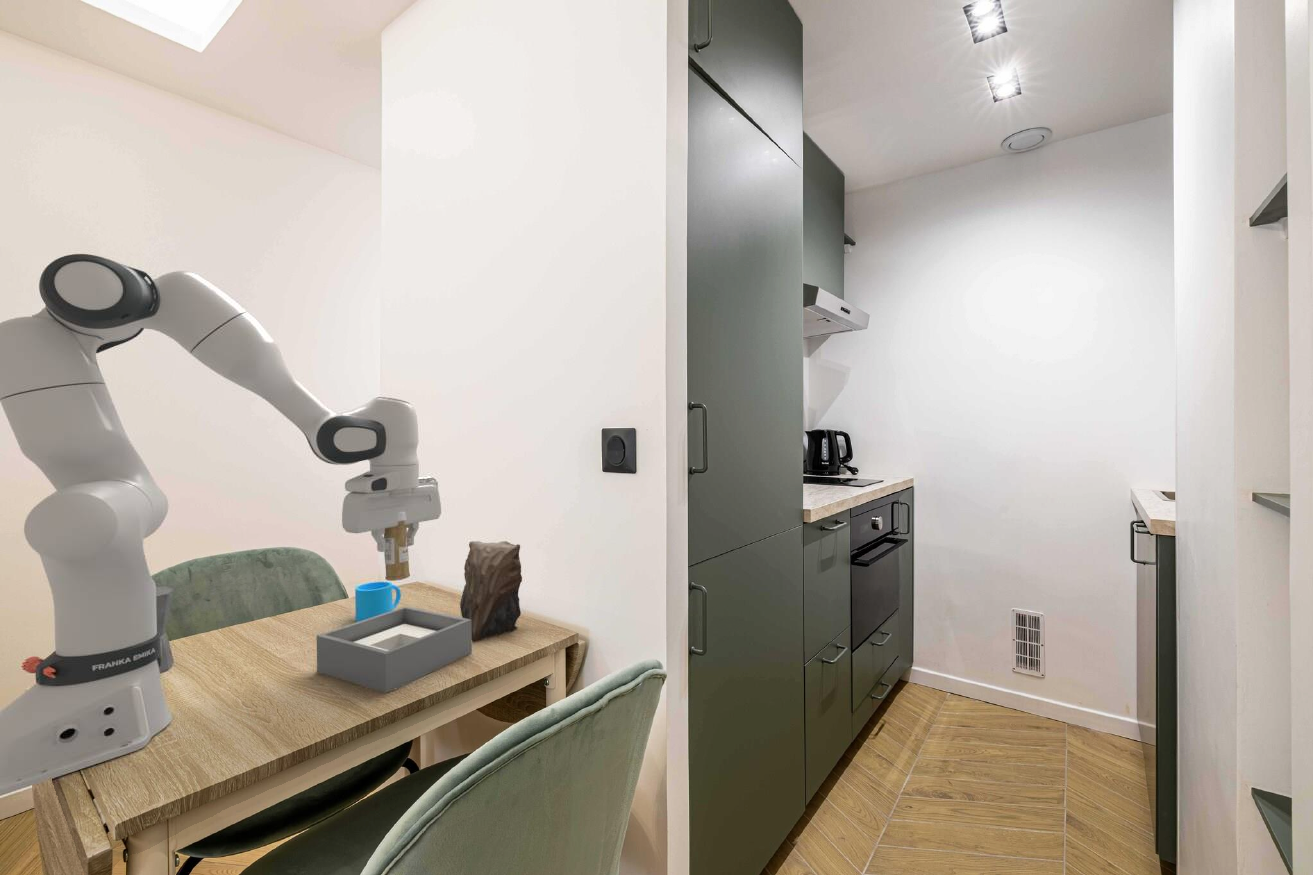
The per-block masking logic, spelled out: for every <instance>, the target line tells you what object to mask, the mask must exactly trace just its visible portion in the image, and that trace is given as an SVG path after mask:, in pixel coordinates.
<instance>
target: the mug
mask: <svg viewBox="0 0 1313 875" xmlns="http://www.w3.org/2000/svg"><path fill="white" fill-rule="evenodd" d="M354 589H355V590H354V591H355V595H354V597H355V602H354V603H355V604H354V605H355V623H356V622H359V621H362V620H366V619H369V618H372V617H375V616H378V615H381V614H384V613H387V612H390V611H393V610H395V608H397V607H398V605H399V604H400V601H401V599H402V594H401V590H400V588H399V587H398V586H397V585H396V584H393V583H392V582H391V581H390V582H389V581H374V582H373V581H372V582H367V583H362V584H359V585H358V586H356V587H355V588H354ZM393 590H394V591H395V594H396V596H395V600H394V602H393Z"/></svg>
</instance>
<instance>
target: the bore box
mask: <svg viewBox="0 0 1313 875" xmlns="http://www.w3.org/2000/svg"><path fill="white" fill-rule="evenodd" d="M472 642H473V641H472V623H471V619H466V618H462V616H461V617H460V616H455V615H450V614H445V613H441V612H435V611H431V610H426V609H421V608H416V607H411V606H407V605H406V606H403V607H399V608H397V609H393V611H390V612H387V613H384V614H381V615H378V616H375V617H372V618H369V619H366V620H362V621H359V622H356V621H355V622H353V623H351V624H347V625H344V626H342V627H339V628H335V629H332V630H330V631H327V632H324V633H321V634H317V635H316V672H317V673H320V674H323V675H326V676H329V677H332V678H335V679H338V680H342V681H345V682H347V683H352V684H354V683H355V684H354V685H357V686H360V685H362V686H361V687H364V686H365V688H367V687H368V688H367V689H370V688H371V689H370V690H373V689H374V691H376V690H378V691H377V692H380V693H383V692H386V693H387V692H389V693H391V692H392V691H391V690H393V691H395V690H396V689H395V688H397V689H399V688H401V687H403V685H404V686H405V685H407V684H410V683H412V682H414V681H416V680H418V679H421V678H422V676H423V677H424V675H425V676H427V675H429V674H431V673H433V672H435V671H437V670H439V669H441V668H444V667H445V666H448V665H450V664H452V663H454V662H456V661H458V660H460V659H463V658H464V657H467V656H469V655H471V654H472V653H473V652H472V651H473V648H472V645H473V644H472ZM430 672H431V673H430ZM428 673H429V674H428ZM426 674H427V675H426ZM400 686H401V687H400ZM394 689H395V690H394ZM390 691H391V692H390ZM386 693H385V694H386ZM387 694H388V693H387Z"/></svg>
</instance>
